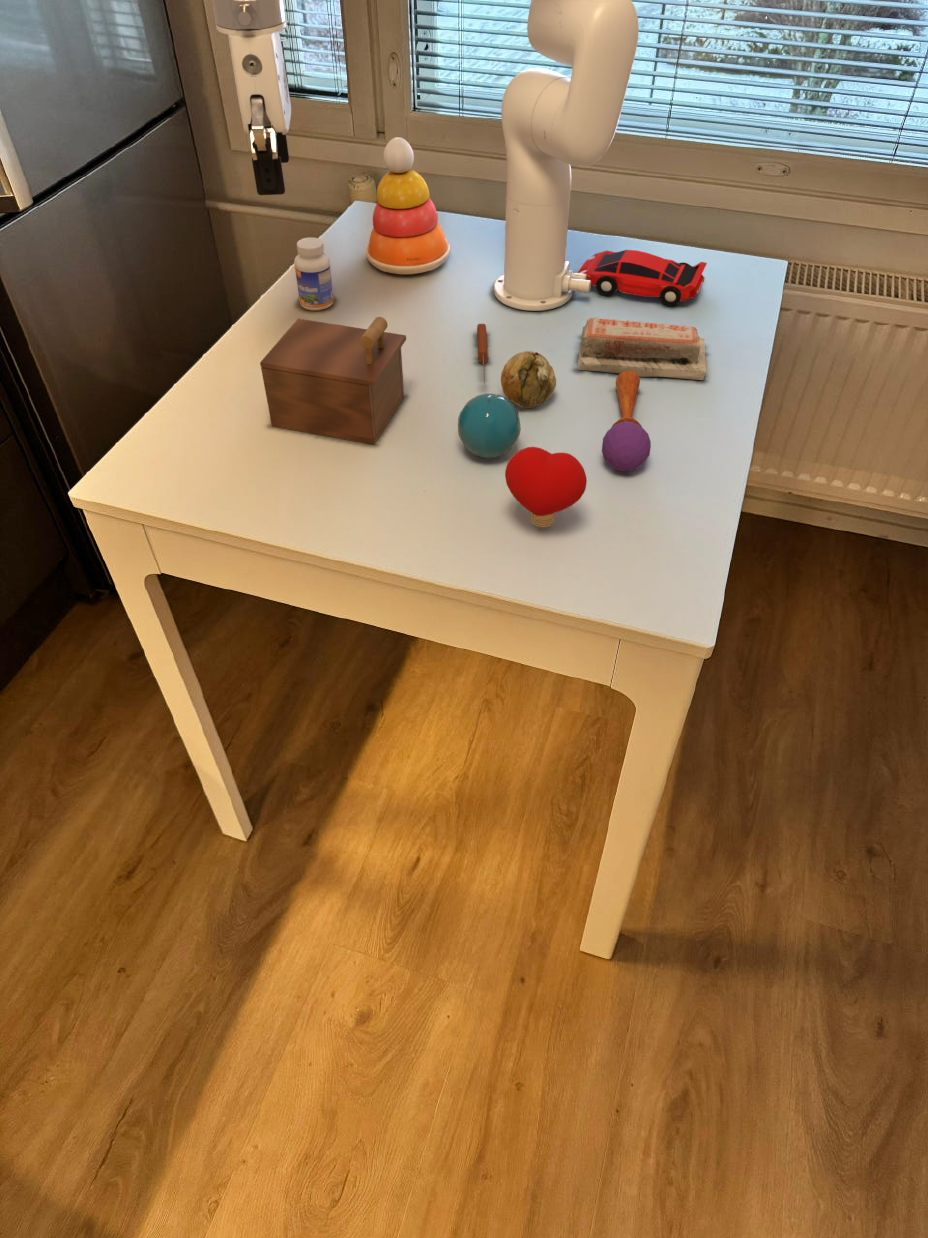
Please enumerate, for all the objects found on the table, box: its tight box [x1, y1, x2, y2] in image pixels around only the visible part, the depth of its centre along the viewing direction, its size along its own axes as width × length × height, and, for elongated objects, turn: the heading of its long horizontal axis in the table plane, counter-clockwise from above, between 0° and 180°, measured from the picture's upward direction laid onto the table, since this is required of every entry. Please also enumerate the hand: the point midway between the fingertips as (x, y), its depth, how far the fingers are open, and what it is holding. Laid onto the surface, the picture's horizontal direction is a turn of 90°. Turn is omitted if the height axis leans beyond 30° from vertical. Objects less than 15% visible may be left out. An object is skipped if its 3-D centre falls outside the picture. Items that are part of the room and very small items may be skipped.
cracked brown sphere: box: [500, 350, 557, 409], centre depth 123 cm, size 8×8×8 cm
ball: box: [457, 392, 522, 459], centre depth 114 cm, size 8×8×8 cm
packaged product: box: [577, 317, 707, 381], centre depth 131 cm, size 18×5×10 cm
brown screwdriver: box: [476, 323, 489, 382], centre depth 132 cm, size 16×1×2 cm, turn 1°
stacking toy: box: [365, 136, 451, 275], centre depth 148 cm, size 14×14×20 cm
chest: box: [260, 347, 405, 446], centre depth 121 cm, size 15×12×9 cm
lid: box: [259, 316, 407, 386], centre depth 116 cm, size 15×12×5 cm
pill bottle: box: [293, 236, 334, 312], centre depth 141 cm, size 5×5×10 cm
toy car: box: [577, 249, 708, 307], centre depth 146 cm, size 10×20×5 cm, turn 72°
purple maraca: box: [601, 371, 652, 472], centre depth 118 cm, size 6×6×20 cm
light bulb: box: [504, 446, 588, 528], centre depth 104 cm, size 9×7×10 cm
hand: (274, 177), depth 110 cm, fingers open, 9 cm apart
